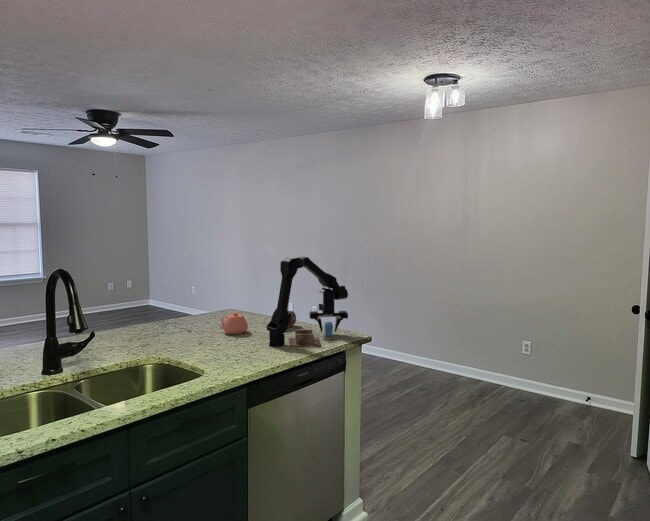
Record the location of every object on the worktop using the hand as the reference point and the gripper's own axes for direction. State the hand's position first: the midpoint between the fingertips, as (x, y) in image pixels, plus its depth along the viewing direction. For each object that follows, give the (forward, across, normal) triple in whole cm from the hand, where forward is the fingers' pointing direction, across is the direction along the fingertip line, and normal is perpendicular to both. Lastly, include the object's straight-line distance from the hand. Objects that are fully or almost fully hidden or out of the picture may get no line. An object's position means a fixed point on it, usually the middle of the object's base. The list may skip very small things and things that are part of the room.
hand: (328, 331), depth 230 cm
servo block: (+2, 0, 0) cm, 2 cm away
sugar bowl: (+2, +47, -9) cm, 48 cm away
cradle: (+2, +13, +13) cm, 18 cm away
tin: (+2, +21, -18) cm, 28 cm away
